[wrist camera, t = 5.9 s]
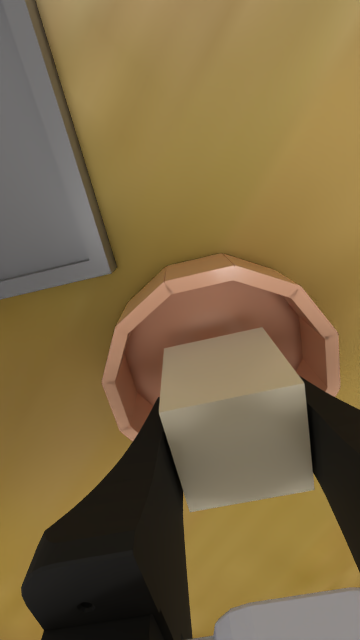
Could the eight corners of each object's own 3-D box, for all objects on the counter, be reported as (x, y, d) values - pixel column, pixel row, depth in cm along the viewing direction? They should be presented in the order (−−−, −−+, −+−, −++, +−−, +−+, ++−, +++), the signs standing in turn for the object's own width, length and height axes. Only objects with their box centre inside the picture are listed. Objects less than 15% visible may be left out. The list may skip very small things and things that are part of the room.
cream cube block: (185, 426, 15) (190, 512, 11) (163, 348, 13) (158, 412, 9) (273, 408, 14) (314, 489, 10) (262, 327, 13) (304, 383, 9)
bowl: (147, 440, 19) (141, 487, 16) (92, 282, 16) (70, 302, 12) (313, 408, 19) (342, 450, 15) (299, 234, 15) (335, 242, 12)
